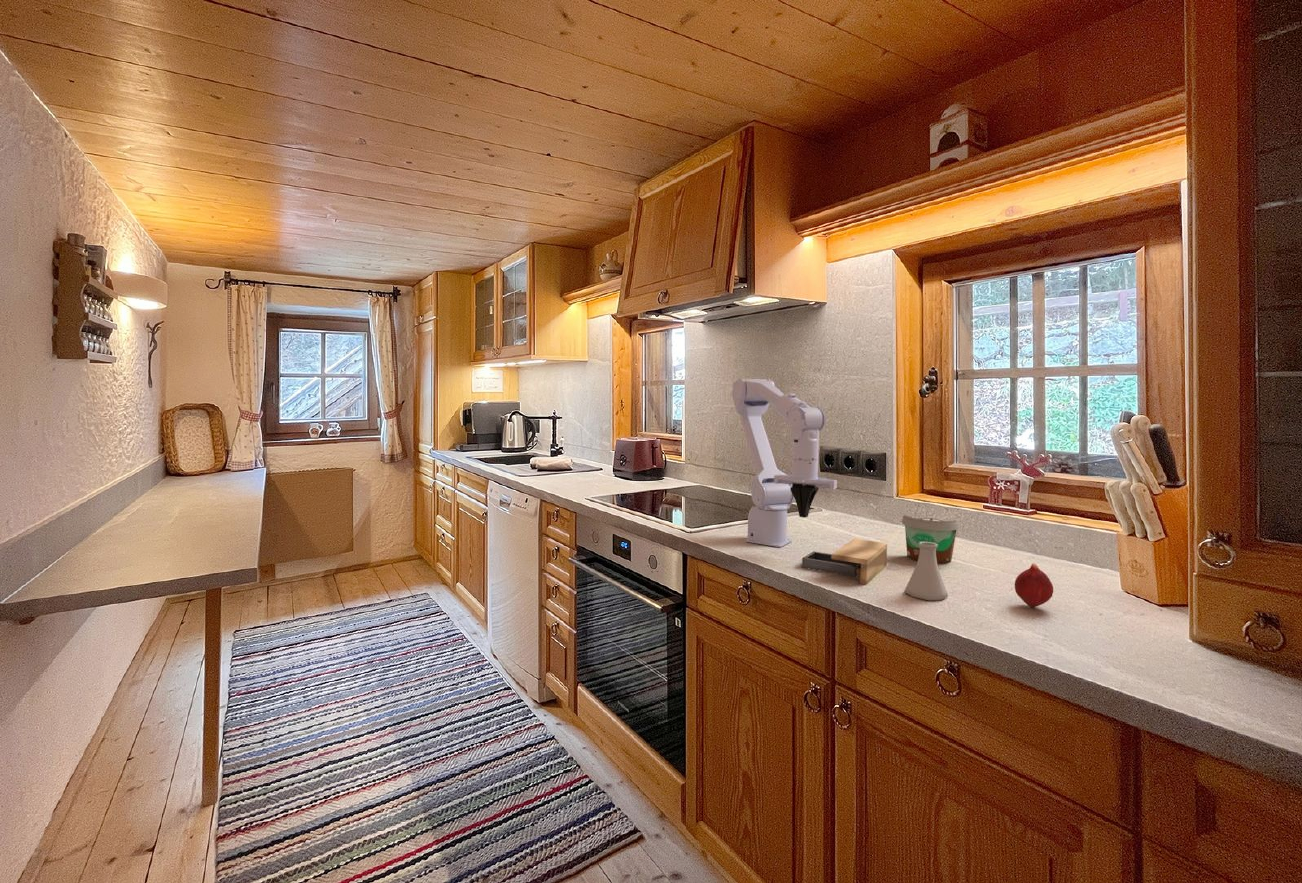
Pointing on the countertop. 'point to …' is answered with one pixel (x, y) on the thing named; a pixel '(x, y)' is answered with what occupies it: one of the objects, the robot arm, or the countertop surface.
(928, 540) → the food container
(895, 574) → the countertop surface
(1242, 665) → the countertop surface
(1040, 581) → the onion
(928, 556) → the flask
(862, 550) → the pine shelf
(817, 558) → the dark grey drawer
